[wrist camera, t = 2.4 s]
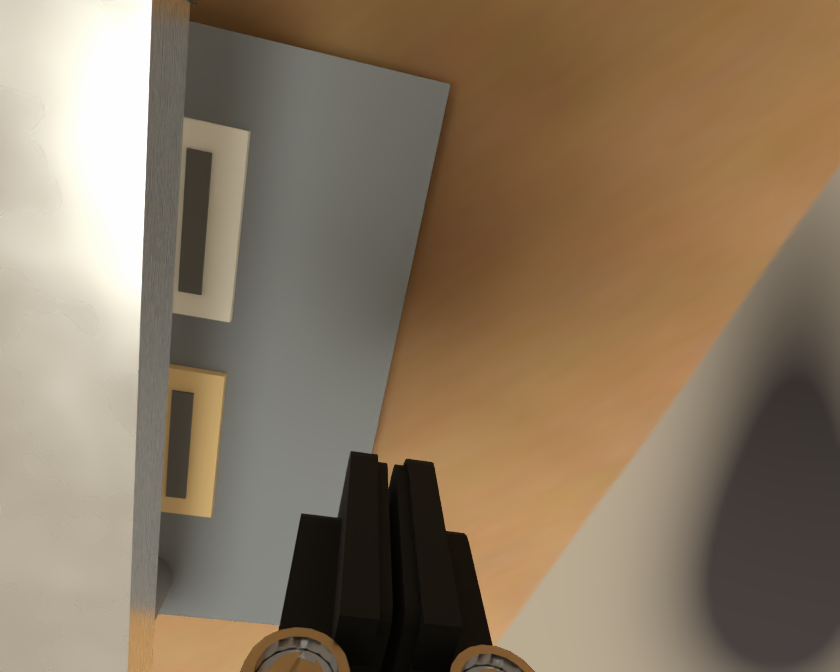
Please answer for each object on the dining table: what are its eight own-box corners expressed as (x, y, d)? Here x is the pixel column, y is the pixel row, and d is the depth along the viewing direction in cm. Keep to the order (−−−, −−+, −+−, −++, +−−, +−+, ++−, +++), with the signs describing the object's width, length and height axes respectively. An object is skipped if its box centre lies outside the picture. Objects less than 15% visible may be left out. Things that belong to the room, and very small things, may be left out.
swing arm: (153, 717, 19) (123, 798, 17) (21, 708, 18) (-28, 790, 16) (202, -63, 11) (157, -109, 9) (-28, -124, 10) (-141, -190, 8)
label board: (-281, -89, 15) (-629, -197, 10) (444, 86, 18) (471, 74, 12) (-155, 551, 22) (-313, 680, 17) (336, 602, 25) (325, 725, 20)
